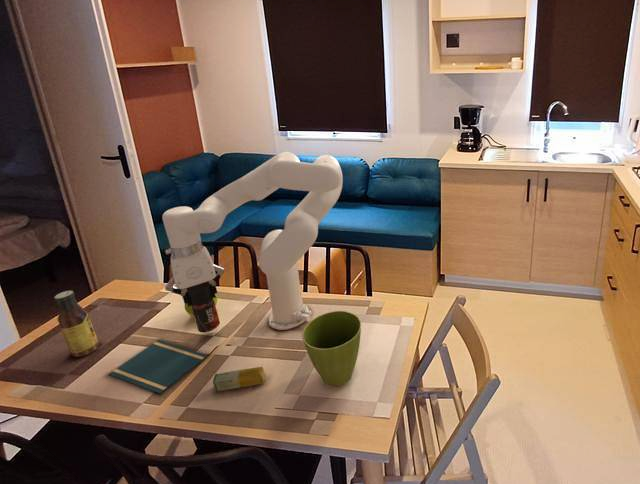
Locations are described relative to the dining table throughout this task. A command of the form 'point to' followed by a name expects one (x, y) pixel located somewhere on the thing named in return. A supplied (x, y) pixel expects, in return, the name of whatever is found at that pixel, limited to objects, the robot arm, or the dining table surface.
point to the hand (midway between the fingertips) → (201, 299)
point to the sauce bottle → (75, 325)
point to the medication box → (239, 378)
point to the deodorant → (203, 307)
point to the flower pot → (333, 345)
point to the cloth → (158, 366)
